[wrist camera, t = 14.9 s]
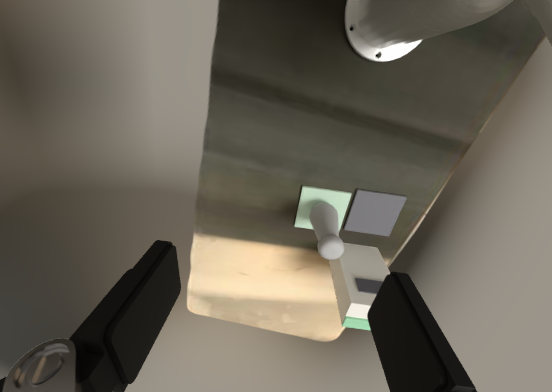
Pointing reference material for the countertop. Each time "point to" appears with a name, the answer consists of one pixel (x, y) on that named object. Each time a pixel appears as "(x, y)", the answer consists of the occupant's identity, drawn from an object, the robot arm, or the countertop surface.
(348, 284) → the block
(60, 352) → the robot arm
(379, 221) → the grey pad
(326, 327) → the countertop surface
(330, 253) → the salt shaker
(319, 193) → the green pad
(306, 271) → the countertop surface
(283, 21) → the countertop surface
